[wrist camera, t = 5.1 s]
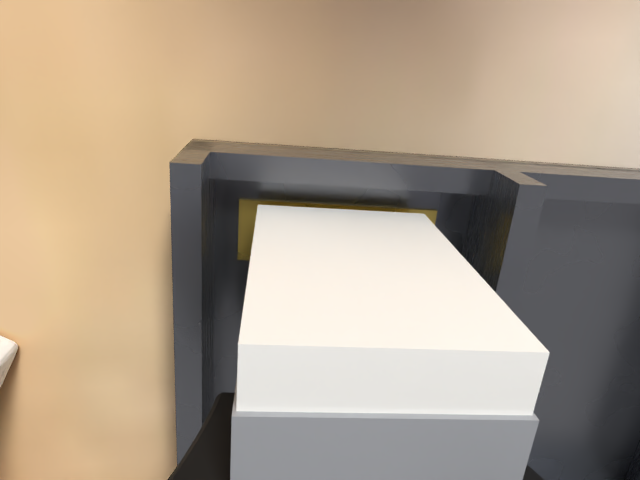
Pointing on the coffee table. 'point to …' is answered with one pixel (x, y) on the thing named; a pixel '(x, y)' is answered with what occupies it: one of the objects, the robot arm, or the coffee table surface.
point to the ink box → (6, 356)
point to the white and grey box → (377, 355)
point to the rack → (470, 241)
